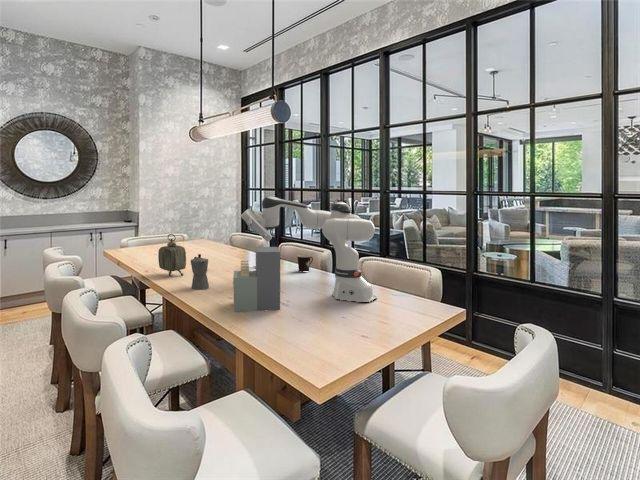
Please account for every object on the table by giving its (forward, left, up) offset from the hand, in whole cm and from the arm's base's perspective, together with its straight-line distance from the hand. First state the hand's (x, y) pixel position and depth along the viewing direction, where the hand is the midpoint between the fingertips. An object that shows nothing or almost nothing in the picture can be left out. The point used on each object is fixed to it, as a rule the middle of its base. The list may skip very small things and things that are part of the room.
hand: (257, 230), depth 205 cm
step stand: (-19, +22, -31) cm, 43 cm away
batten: (-12, +22, -16) cm, 30 cm away
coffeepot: (+28, +15, -32) cm, 45 cm away
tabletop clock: (+62, +7, -32) cm, 70 cm away
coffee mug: (+7, -53, -31) cm, 62 cm away
